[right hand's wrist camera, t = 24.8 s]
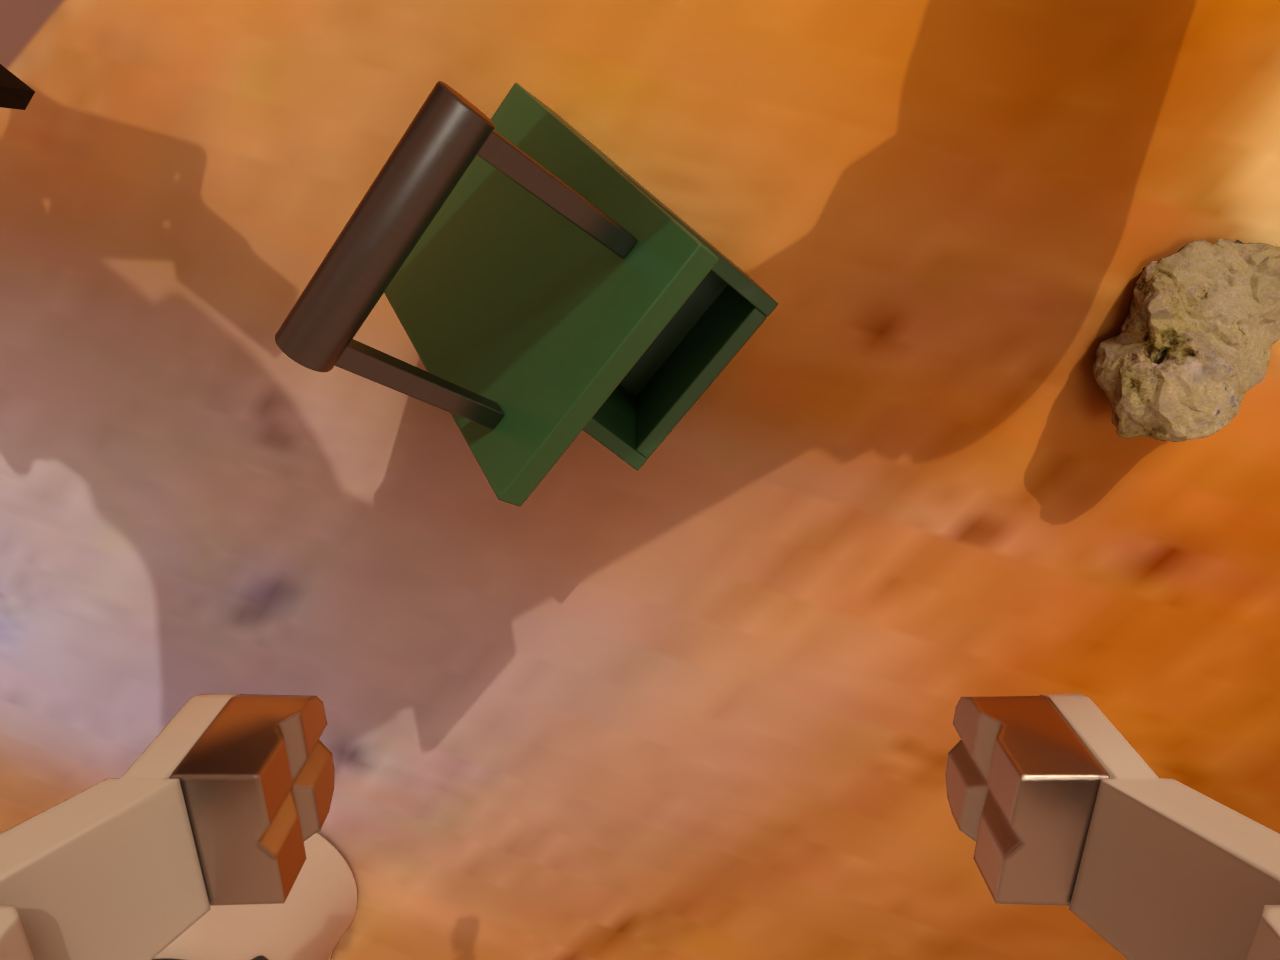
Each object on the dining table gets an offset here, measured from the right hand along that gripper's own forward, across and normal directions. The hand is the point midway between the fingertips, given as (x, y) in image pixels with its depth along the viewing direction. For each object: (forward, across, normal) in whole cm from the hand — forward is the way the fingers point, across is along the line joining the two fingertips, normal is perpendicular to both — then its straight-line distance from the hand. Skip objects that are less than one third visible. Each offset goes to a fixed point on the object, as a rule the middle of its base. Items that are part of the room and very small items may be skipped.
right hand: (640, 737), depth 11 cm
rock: (+37, -30, +2) cm, 48 cm away
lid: (+21, +4, -3) cm, 21 cm away
